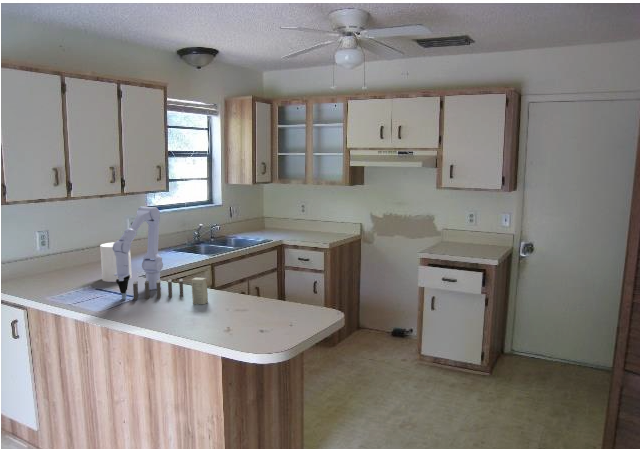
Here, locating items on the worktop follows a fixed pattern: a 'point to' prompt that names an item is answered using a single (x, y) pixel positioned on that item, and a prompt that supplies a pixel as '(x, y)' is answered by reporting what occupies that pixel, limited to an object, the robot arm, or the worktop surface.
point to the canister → (110, 262)
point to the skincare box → (199, 290)
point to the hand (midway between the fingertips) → (124, 291)
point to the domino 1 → (124, 295)
